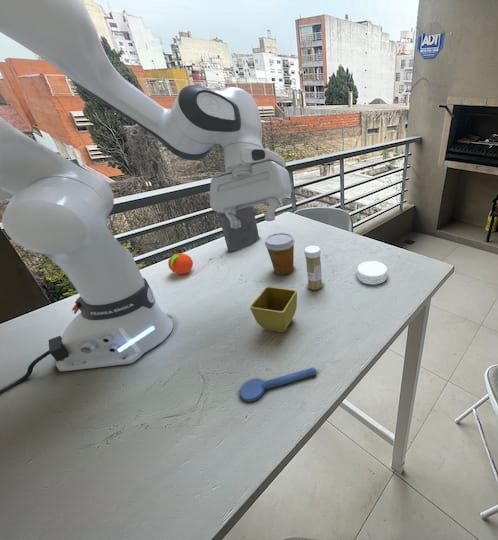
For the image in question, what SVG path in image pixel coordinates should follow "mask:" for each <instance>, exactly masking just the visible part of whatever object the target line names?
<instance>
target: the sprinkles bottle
mask: <svg viewBox="0 0 498 540" xmlns="http://www.w3.org/2000/svg"><path fill="white" fill-rule="evenodd" d="M304 256H305V263H306V275H307V276H306V277H307V287H308V289H310V290H313V291H315V290H319V289H321V288H322V287H323V279H322V278H323V275H322V274H323V273H322V262H321V248H320V247H319V246H317V245H309V246H307V247H305V248H304Z"/></svg>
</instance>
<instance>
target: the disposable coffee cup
mask: <svg viewBox="0 0 498 540" xmlns="http://www.w3.org/2000/svg"><path fill="white" fill-rule="evenodd" d="M264 246H265V248H266V249H267V252H268V255H269V259H270V262H271V265H272V268H273V271H274V273H275V274H277V275H281V276H283V275H288V274H290V273H292V272H294V257H295V255H294V251H295V250H294V249H295V247H294V246H295V238H294V237H293V235H292V234H291V233H287V232H275V233H272V234H269V235H268V236H266V238H265V240H264Z"/></svg>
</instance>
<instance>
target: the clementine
mask: <svg viewBox="0 0 498 540" xmlns="http://www.w3.org/2000/svg"><path fill="white" fill-rule="evenodd" d="M167 262H168V263H167V265H168V268H169V270H170V271H172V272H173V273H175V274H177V275H183V274H188V273H189V272H190V271H191V270H192V268H193V267H194V261H193V259H192V257H191V256H190V255H188V254H186V253H183V252H177V253H174V254H172V255H171V256H170V257H169V258H168V261H167Z"/></svg>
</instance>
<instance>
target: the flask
mask: <svg viewBox="0 0 498 540" xmlns="http://www.w3.org/2000/svg"><path fill="white" fill-rule="evenodd" d="M217 215H218V219H219V222H220V225H221V226H220V227H221V229H222V233H223V237H224V241H225V245H226V249H227V251H228V252H229V253H233V252H236V251H239V250H241V249H245V248H246V247H248V246H250V245H253V244H254V243H256V242H257V241H259V240H260V236H259V230H258V229H259V228H258V225H257V220H256V214H255V210H254V206H250V207H246V208H242V209H238V210H236V214H234V215H235V217H236V219H237V220H240V221H241V227H240V228H236V229H235V228H231V225H230V220H229V219H228V217H227V216H226V215H225V213H221V212H217Z"/></svg>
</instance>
